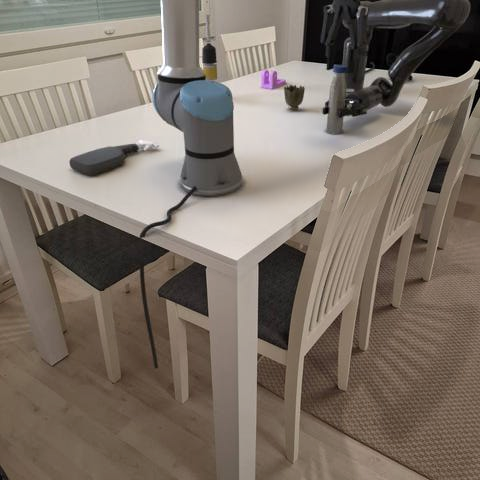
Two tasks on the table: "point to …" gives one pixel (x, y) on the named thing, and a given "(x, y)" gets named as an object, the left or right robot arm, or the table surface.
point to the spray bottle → (106, 157)
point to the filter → (209, 56)
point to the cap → (339, 68)
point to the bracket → (271, 80)
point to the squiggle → (392, 61)
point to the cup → (294, 96)
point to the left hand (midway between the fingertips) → (339, 70)
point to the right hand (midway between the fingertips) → (331, 112)
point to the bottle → (336, 103)
